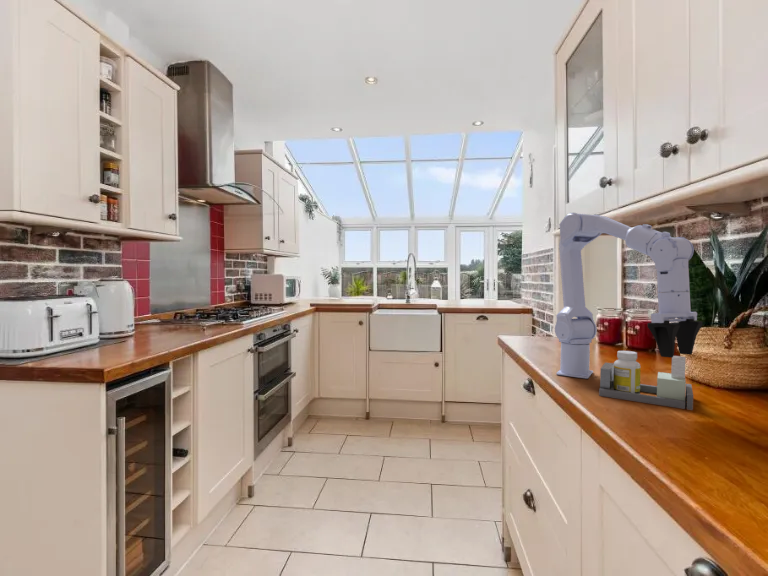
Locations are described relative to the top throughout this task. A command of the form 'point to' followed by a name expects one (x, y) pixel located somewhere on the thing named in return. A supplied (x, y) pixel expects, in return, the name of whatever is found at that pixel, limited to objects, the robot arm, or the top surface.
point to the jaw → (673, 380)
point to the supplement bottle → (626, 372)
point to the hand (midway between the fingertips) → (676, 355)
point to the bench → (608, 391)
